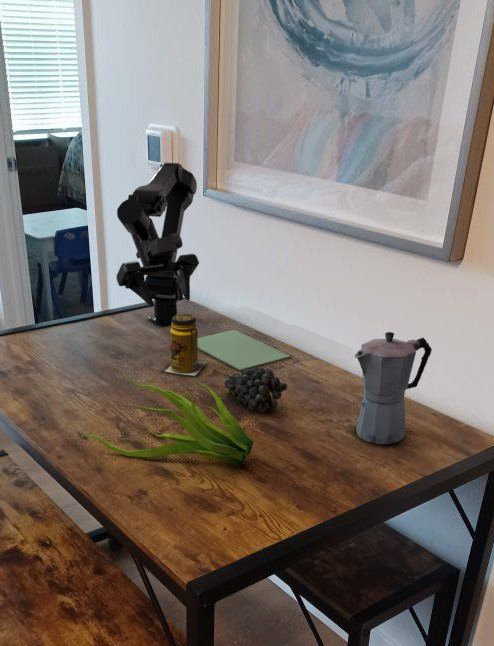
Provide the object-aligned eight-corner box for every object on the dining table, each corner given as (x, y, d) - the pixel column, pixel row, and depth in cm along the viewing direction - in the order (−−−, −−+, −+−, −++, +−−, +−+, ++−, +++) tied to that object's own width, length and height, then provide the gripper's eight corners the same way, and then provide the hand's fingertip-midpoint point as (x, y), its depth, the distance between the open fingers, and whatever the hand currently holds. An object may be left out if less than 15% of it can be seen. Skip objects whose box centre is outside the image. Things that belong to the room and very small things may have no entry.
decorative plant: (135, 414, 139) (132, 343, 131) (259, 462, 122) (263, 384, 115) (66, 448, 127) (58, 371, 119) (193, 506, 110) (193, 422, 103)
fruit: (219, 352, 143) (269, 373, 132) (248, 356, 148) (298, 377, 138) (208, 392, 145) (256, 417, 135) (238, 395, 151) (286, 419, 140)
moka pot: (332, 430, 133) (344, 328, 123) (398, 416, 139) (415, 317, 129) (361, 452, 126) (376, 346, 116) (430, 437, 131) (451, 334, 121)
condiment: (164, 372, 157) (163, 320, 151) (178, 359, 164) (177, 308, 158) (194, 376, 155) (195, 324, 149) (207, 363, 162) (208, 312, 156)
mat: (185, 341, 174) (185, 340, 174) (234, 330, 181) (234, 329, 181) (239, 370, 158) (239, 369, 158) (290, 357, 165) (290, 356, 165)
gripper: (118, 225, 149) (143, 289, 147) (195, 216, 158) (220, 278, 155) (106, 254, 159) (129, 315, 157) (178, 245, 167) (201, 303, 165)
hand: (170, 302), depth 158 cm, fingers open, 9 cm apart
